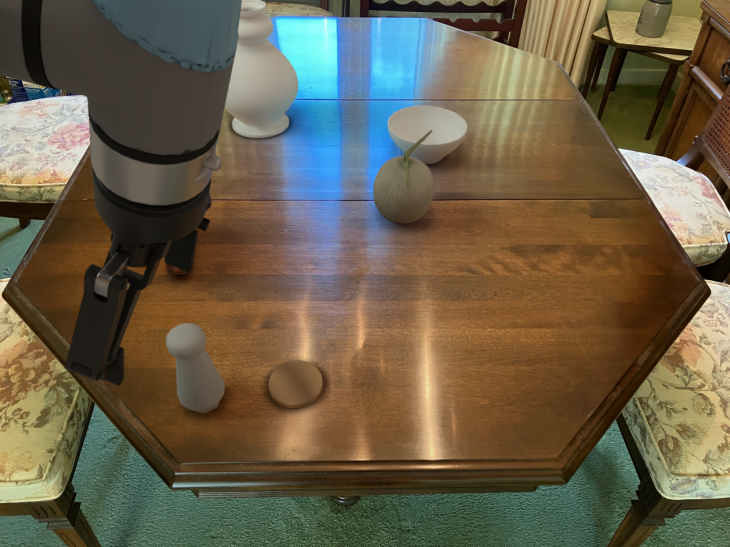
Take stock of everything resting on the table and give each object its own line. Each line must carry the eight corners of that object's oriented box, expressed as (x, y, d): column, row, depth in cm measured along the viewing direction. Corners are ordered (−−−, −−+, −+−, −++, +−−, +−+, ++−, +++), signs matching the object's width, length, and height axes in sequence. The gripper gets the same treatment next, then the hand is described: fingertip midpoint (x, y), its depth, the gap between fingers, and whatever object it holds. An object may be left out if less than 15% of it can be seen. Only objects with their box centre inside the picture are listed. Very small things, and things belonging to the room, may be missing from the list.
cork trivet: (290, 418, 69) (290, 414, 68) (258, 383, 72) (257, 380, 72) (333, 387, 72) (333, 383, 71) (300, 355, 76) (300, 351, 75)
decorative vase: (296, 145, 116) (286, 22, 99) (212, 143, 116) (188, 20, 99) (304, 106, 129) (297, -9, 112) (229, 104, 129) (210, -11, 112)
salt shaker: (212, 425, 68) (191, 360, 59) (172, 412, 69) (145, 346, 60) (236, 388, 72) (219, 321, 63) (197, 376, 73) (175, 309, 64)
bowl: (396, 179, 108) (398, 147, 103) (378, 138, 119) (379, 108, 114) (473, 172, 110) (479, 140, 105) (449, 132, 121) (453, 102, 117)
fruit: (372, 238, 94) (374, 162, 84) (372, 198, 103) (374, 125, 93) (433, 239, 94) (443, 163, 84) (428, 199, 103) (436, 127, 93)
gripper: (106, 341, 30) (113, 452, 46) (273, 92, 45) (233, 241, 61) (-32, 285, 29) (25, 418, 45) (186, 50, 44) (170, 213, 61)
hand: (145, 316), depth 53 cm, fingers open, 13 cm apart
